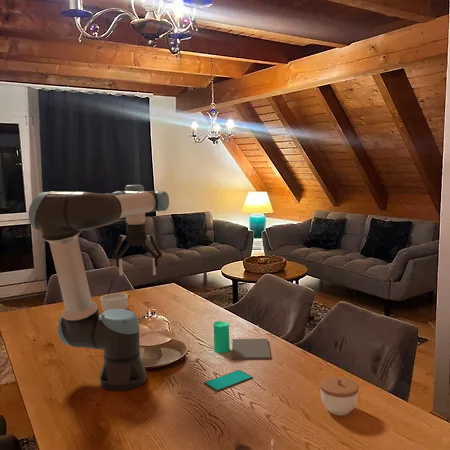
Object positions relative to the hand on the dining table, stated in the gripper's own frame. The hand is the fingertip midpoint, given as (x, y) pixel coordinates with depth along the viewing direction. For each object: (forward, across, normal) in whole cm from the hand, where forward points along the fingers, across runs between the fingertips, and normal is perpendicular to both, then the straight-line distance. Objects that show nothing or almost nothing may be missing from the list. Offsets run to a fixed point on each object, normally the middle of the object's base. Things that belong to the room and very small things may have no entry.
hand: (137, 274), depth 196 cm
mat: (+26, -45, +17) cm, 55 cm away
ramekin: (+26, +18, -37) cm, 48 cm away
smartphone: (+27, -36, +43) cm, 62 cm away
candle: (+26, -34, +17) cm, 46 cm away
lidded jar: (+27, -67, +63) cm, 96 cm away
